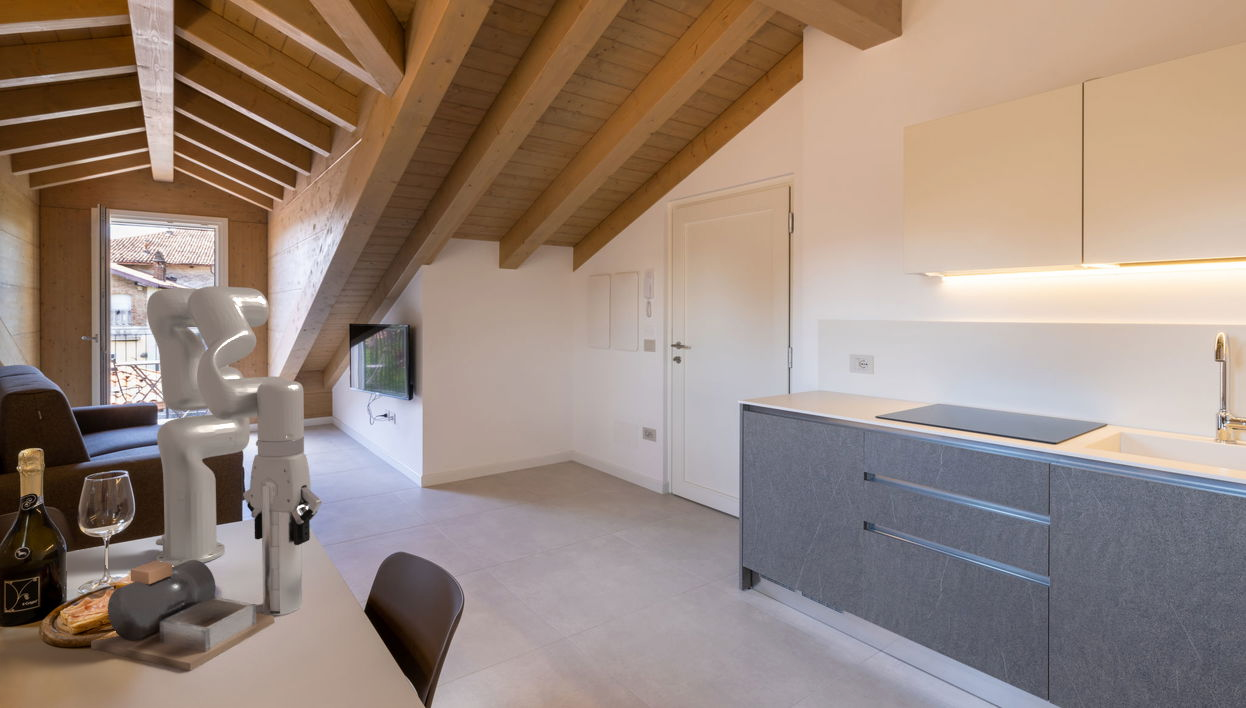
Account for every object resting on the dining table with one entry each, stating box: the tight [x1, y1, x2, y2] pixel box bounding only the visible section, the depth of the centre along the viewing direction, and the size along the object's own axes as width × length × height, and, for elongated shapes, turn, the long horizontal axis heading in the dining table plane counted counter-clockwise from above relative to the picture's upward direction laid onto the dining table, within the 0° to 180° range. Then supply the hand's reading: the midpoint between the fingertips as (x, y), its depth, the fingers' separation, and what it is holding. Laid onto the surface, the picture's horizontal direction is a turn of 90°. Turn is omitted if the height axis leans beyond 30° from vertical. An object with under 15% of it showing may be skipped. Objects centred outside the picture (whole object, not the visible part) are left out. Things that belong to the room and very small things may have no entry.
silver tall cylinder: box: [261, 481, 303, 617], centre depth 117 cm, size 6×6×25 cm
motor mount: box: [90, 560, 275, 672], centre depth 106 cm, size 21×16×12 cm
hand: (282, 539), depth 116 cm, fingers open, 8 cm apart
